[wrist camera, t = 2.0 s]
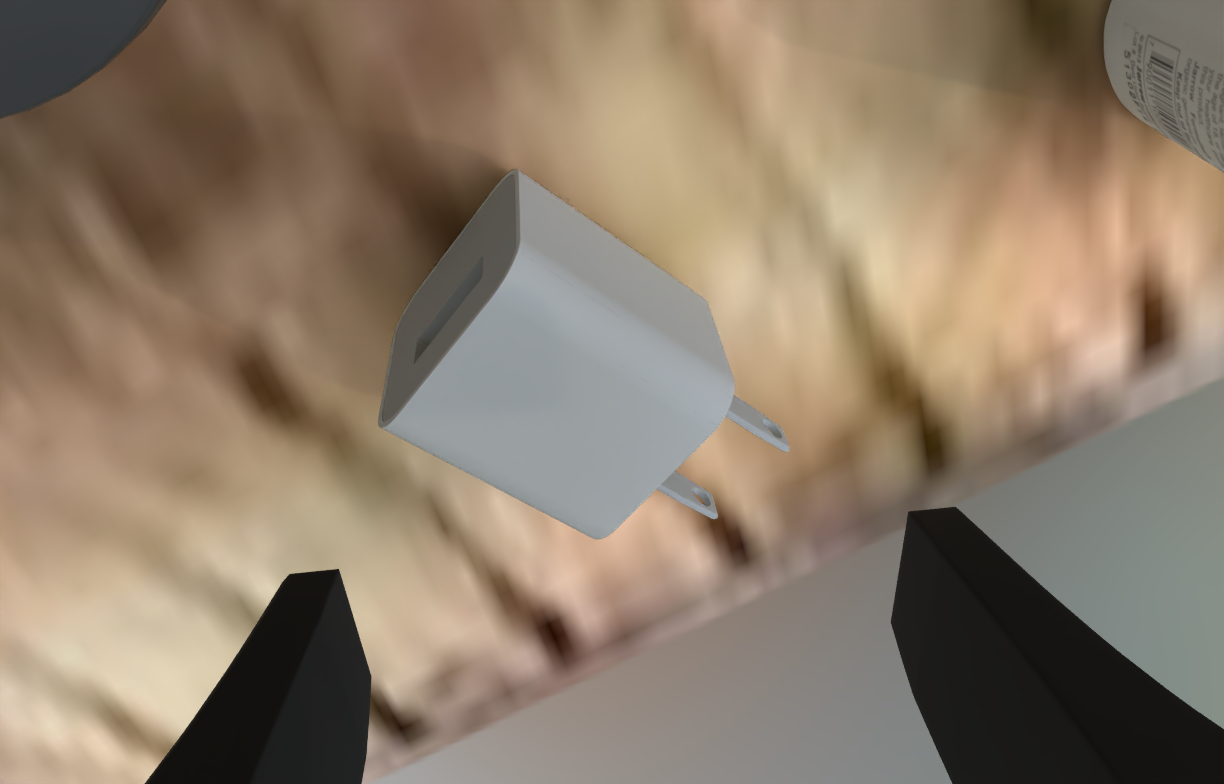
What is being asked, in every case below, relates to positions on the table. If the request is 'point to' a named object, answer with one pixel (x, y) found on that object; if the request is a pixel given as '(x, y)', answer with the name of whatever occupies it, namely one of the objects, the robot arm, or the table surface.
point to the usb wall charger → (561, 365)
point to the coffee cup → (62, 44)
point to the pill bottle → (1171, 69)
